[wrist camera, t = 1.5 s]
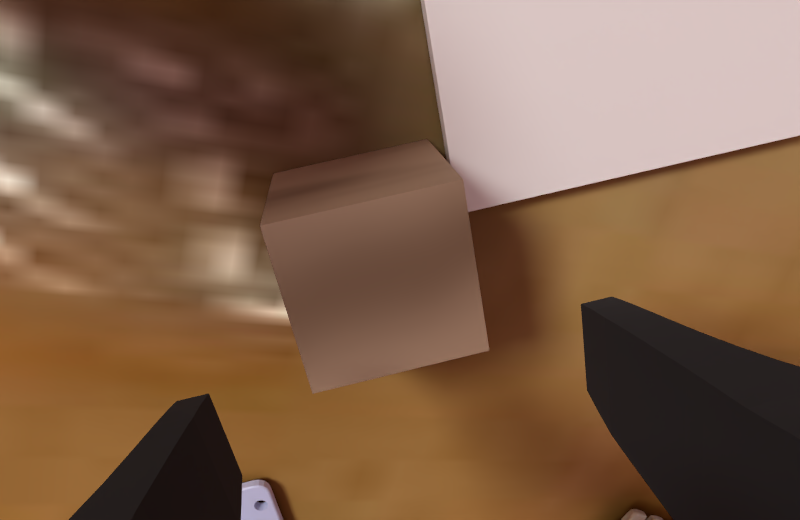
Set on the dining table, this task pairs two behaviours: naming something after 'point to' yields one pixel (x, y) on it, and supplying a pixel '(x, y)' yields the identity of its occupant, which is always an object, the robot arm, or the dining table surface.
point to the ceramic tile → (606, 87)
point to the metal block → (375, 263)
